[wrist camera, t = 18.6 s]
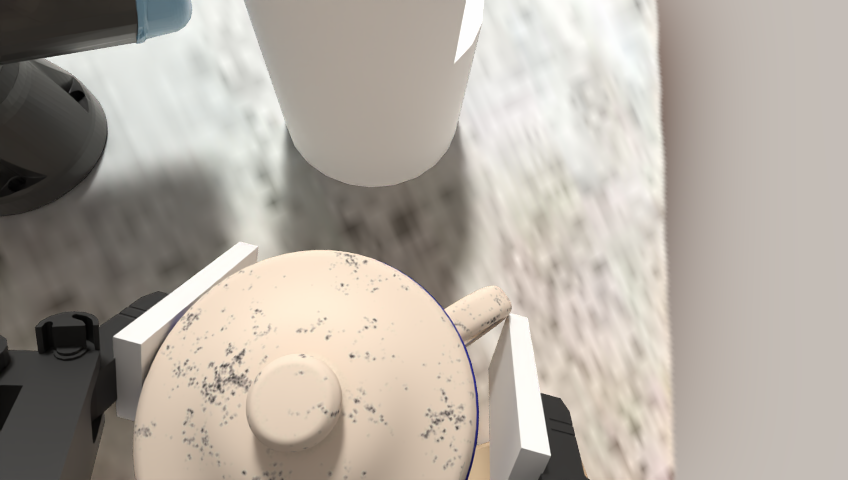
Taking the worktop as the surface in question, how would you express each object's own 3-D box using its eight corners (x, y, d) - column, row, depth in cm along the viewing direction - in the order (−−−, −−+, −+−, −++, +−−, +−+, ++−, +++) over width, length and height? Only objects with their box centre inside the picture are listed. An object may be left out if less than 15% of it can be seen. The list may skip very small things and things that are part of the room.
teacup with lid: (294, 586, 18) (151, 832, 7) (202, 379, 20) (-6, 326, 10) (534, 411, 21) (691, 396, 10) (428, 251, 23) (463, 104, 13)
